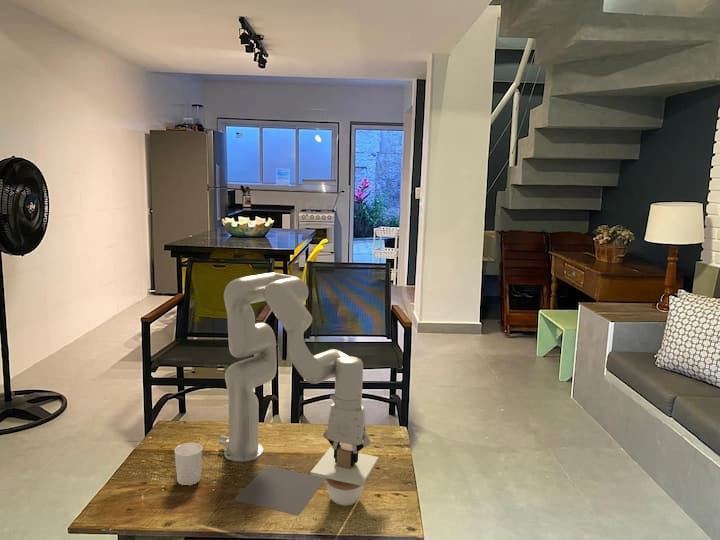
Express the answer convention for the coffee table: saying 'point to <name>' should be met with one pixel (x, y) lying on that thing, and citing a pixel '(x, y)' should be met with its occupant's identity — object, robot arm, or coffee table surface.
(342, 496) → the lidded jar
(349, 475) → the lid sheet
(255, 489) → the mat
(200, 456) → the white cup
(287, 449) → the coffee table surface
